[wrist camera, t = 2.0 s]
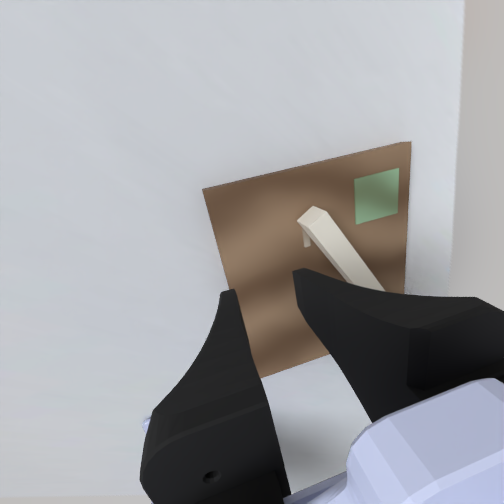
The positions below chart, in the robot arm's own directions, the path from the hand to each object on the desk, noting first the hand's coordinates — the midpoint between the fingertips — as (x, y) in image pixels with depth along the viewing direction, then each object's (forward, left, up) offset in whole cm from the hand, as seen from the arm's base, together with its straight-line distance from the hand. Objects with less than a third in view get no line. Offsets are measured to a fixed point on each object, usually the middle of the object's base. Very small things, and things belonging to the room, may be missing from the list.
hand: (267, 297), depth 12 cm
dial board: (-4, -6, -8) cm, 12 cm away
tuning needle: (-5, -9, -7) cm, 12 cm away
